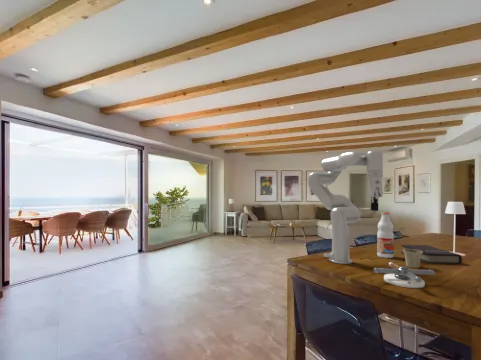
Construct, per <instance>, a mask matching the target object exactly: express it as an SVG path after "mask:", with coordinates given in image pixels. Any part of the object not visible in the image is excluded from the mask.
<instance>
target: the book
mask: <svg viewBox="0 0 481 360" xmlns="http://www.w3.org/2000/svg"><path fill="white" fill-rule="evenodd" d="M401 247H403V248H402V251H401V252H400V253H401V254H404V251H403V249H414V250H420V251H422V252H423V253H422V255H421V259H420V262H421V261H422V262H424V263H427V264H434V265H435V264H438V265H439V264H441V265H442V264H443V265H444V264H445V265H461V264H462V262H463V258H462V255H460V254H458V253H454V252H451V251H448V250H445V249H441V248H437V247H435V246H431V245H427V244H401ZM404 255H405V254H404Z"/></svg>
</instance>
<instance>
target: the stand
mask: <svg viewBox="0 0 481 360" xmlns="http://www.w3.org/2000/svg"><path fill="white" fill-rule="evenodd" d="M383 281H384V282H385V283H388V284H390V285H393V286H395V287H396V286H397V287H402V288H408V289H423V288H424V287H425V285H426V282H425V280H423V279H422V281H421V282H420V283H418V282H416V281H415V280H413V279H409V280H405V279H399V278H396V277H395V273H384V275H383Z"/></svg>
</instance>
